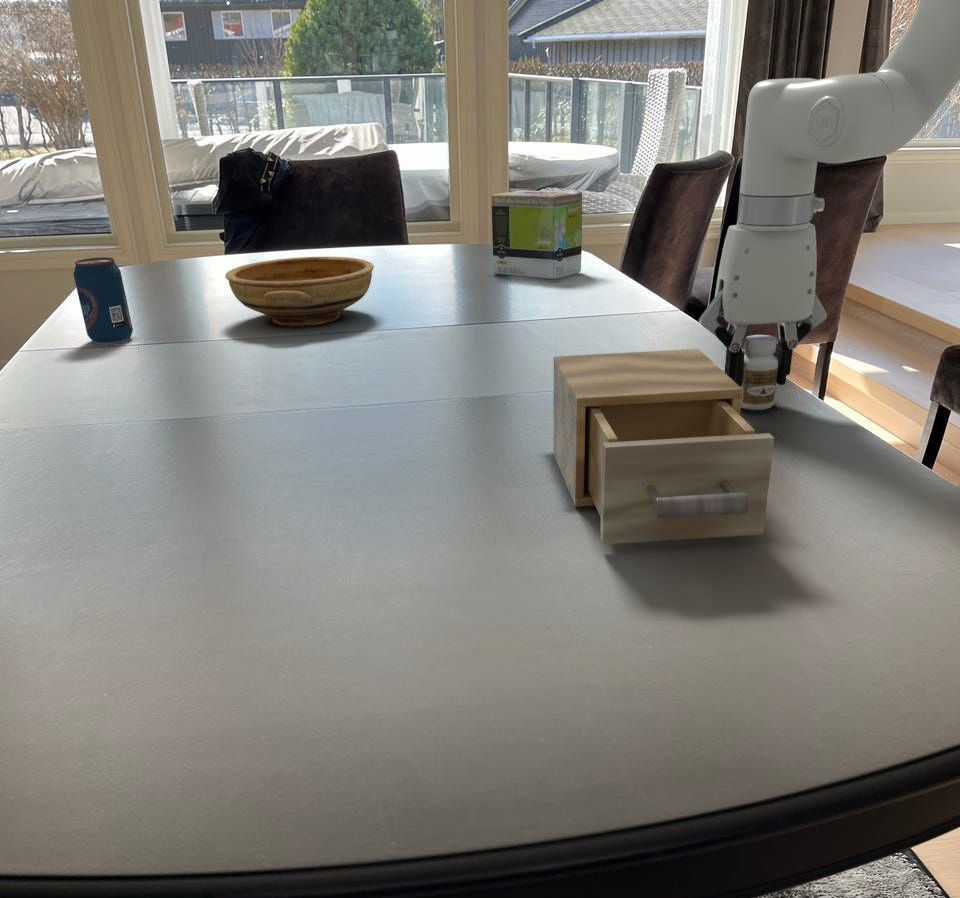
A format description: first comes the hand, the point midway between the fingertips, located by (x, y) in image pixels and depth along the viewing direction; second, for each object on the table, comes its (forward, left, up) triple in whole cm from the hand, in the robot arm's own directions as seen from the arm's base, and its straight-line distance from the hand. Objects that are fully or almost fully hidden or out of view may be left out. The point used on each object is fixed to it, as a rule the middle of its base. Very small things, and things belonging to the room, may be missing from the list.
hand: (756, 381), depth 113 cm
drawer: (+18, +33, -2) cm, 38 cm away
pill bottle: (0, 0, -3) cm, 3 cm away
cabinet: (+18, +20, -3) cm, 27 cm away
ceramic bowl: (+57, -61, -3) cm, 84 cm away
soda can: (+87, -52, -3) cm, 102 cm away
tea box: (+14, -92, -3) cm, 93 cm away
